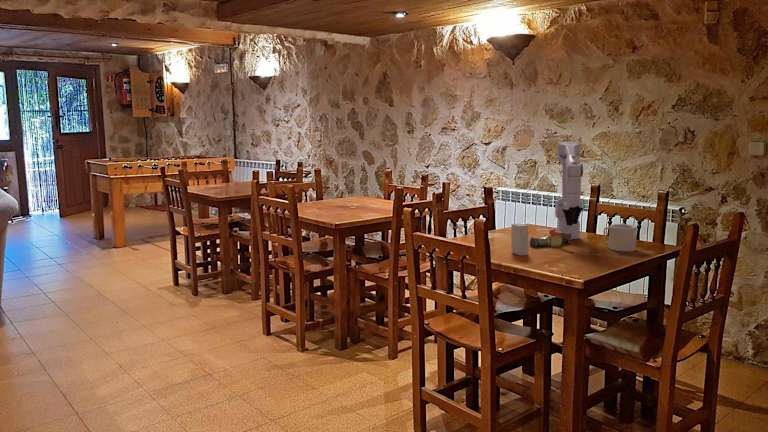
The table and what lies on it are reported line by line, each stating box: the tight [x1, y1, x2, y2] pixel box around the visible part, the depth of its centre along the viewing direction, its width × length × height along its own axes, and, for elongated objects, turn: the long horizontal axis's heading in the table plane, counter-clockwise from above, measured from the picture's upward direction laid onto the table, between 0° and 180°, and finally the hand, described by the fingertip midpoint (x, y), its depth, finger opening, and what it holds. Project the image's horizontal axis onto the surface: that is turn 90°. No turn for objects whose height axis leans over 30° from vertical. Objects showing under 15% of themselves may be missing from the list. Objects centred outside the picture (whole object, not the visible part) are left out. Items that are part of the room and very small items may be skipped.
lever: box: [548, 228, 571, 239], centre depth 260 cm, size 12×3×2 cm, turn 22°
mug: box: [602, 223, 638, 253], centre depth 257 cm, size 14×11×10 cm
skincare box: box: [511, 223, 529, 256], centre depth 248 cm, size 6×4×12 cm
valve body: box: [542, 233, 563, 247], centre depth 265 cm, size 7×5×5 cm
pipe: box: [529, 236, 572, 249], centre depth 265 cm, size 18×5×5 cm, turn 112°
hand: (571, 224), depth 258 cm, fingers open, 4 cm apart
